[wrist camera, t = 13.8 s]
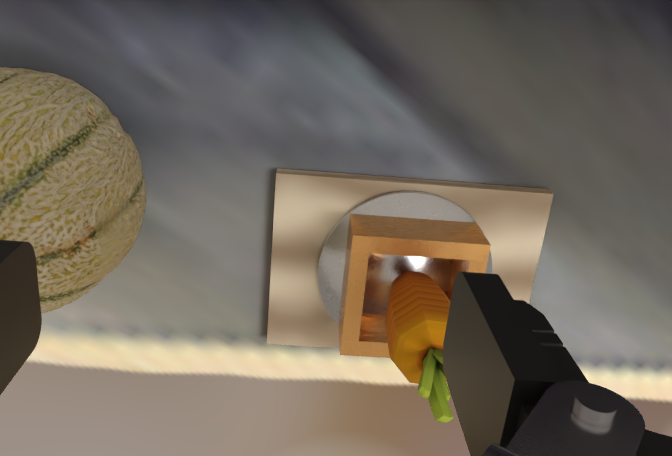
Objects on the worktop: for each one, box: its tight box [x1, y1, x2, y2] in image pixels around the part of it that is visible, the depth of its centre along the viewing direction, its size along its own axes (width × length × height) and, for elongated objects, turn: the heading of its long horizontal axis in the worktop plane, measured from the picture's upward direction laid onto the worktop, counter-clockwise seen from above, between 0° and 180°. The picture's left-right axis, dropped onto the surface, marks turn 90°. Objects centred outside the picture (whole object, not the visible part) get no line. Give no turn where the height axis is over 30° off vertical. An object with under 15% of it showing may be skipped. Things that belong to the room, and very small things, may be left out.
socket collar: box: [318, 190, 492, 358], centre depth 46 cm, size 13×13×5 cm
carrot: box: [385, 270, 453, 422], centre depth 40 cm, size 5×5×15 cm
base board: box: [267, 168, 554, 348], centre depth 48 cm, size 14×20×1 cm
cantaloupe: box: [0, 67, 146, 313], centre depth 38 cm, size 15×15×15 cm
